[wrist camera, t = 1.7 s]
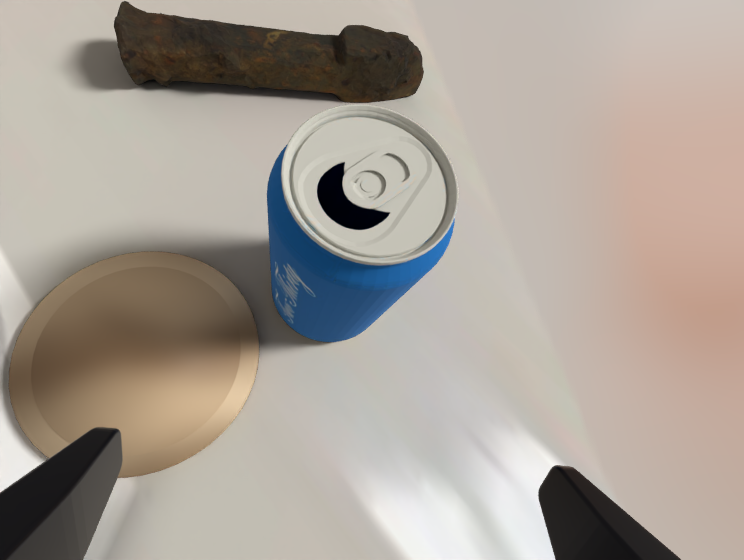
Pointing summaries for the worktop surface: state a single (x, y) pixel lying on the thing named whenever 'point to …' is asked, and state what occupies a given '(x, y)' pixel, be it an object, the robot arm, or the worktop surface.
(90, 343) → the coaster
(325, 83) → the hand tool
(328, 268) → the beverage can
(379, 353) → the worktop surface
